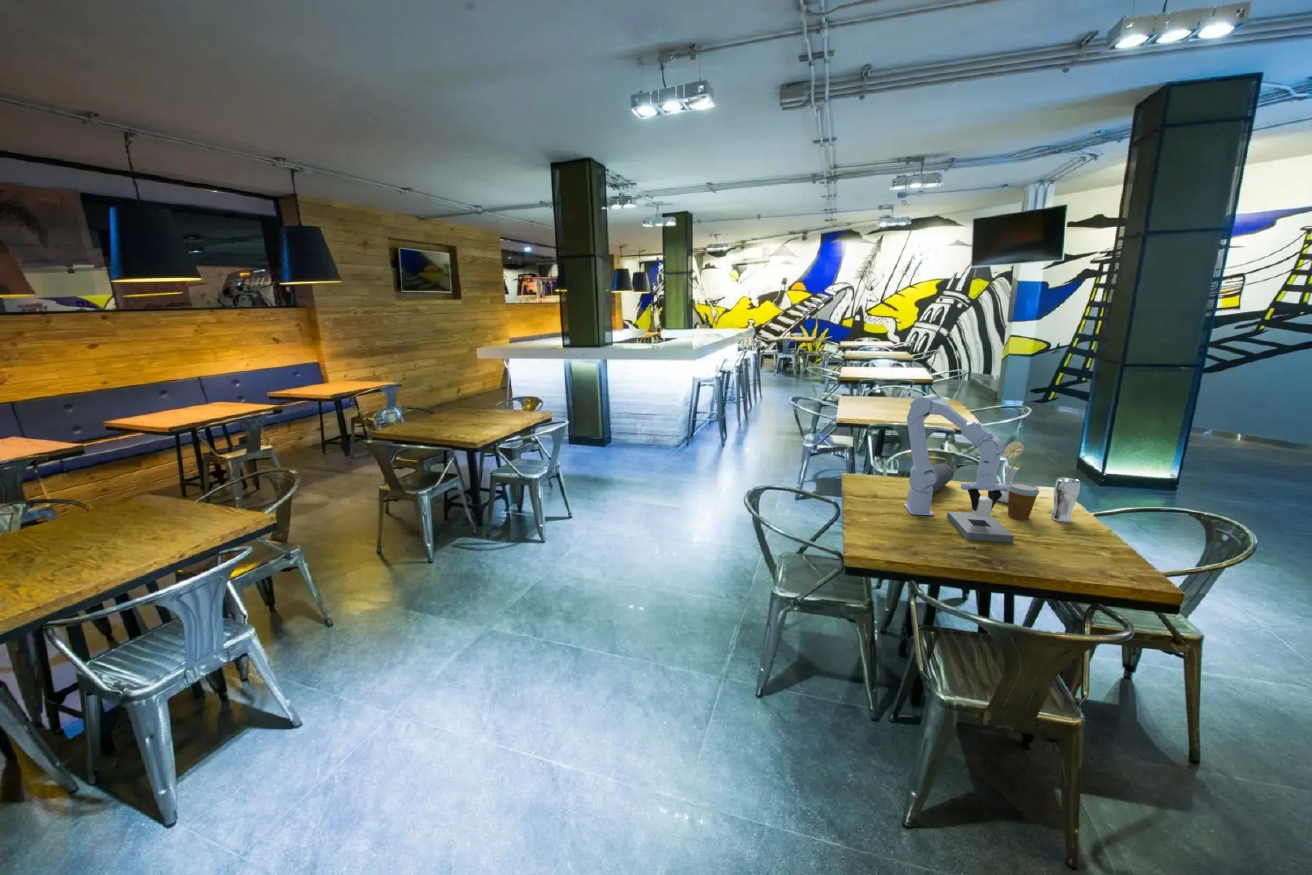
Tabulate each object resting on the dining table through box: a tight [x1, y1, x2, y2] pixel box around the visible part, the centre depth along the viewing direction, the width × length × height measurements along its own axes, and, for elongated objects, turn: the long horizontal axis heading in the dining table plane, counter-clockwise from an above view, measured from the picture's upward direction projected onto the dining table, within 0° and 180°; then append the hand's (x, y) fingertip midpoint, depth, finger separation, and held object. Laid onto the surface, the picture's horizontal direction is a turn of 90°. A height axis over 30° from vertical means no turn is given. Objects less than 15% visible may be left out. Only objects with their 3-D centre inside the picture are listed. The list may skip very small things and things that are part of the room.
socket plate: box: [946, 511, 1015, 544], centre depth 179 cm, size 18×14×2 cm
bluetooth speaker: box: [932, 462, 954, 494], centre depth 215 cm, size 23×9×10 cm, turn 133°
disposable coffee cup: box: [1007, 481, 1040, 521], centre depth 188 cm, size 10×10×12 cm
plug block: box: [971, 495, 993, 517], centre depth 177 cm, size 4×4×6 cm
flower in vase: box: [997, 440, 1025, 504], centre depth 201 cm, size 13×11×25 cm
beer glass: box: [1050, 476, 1081, 524], centre depth 185 cm, size 7×7×15 cm
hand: (981, 510), depth 177 cm, fingers closed on plug block, 4 cm apart
